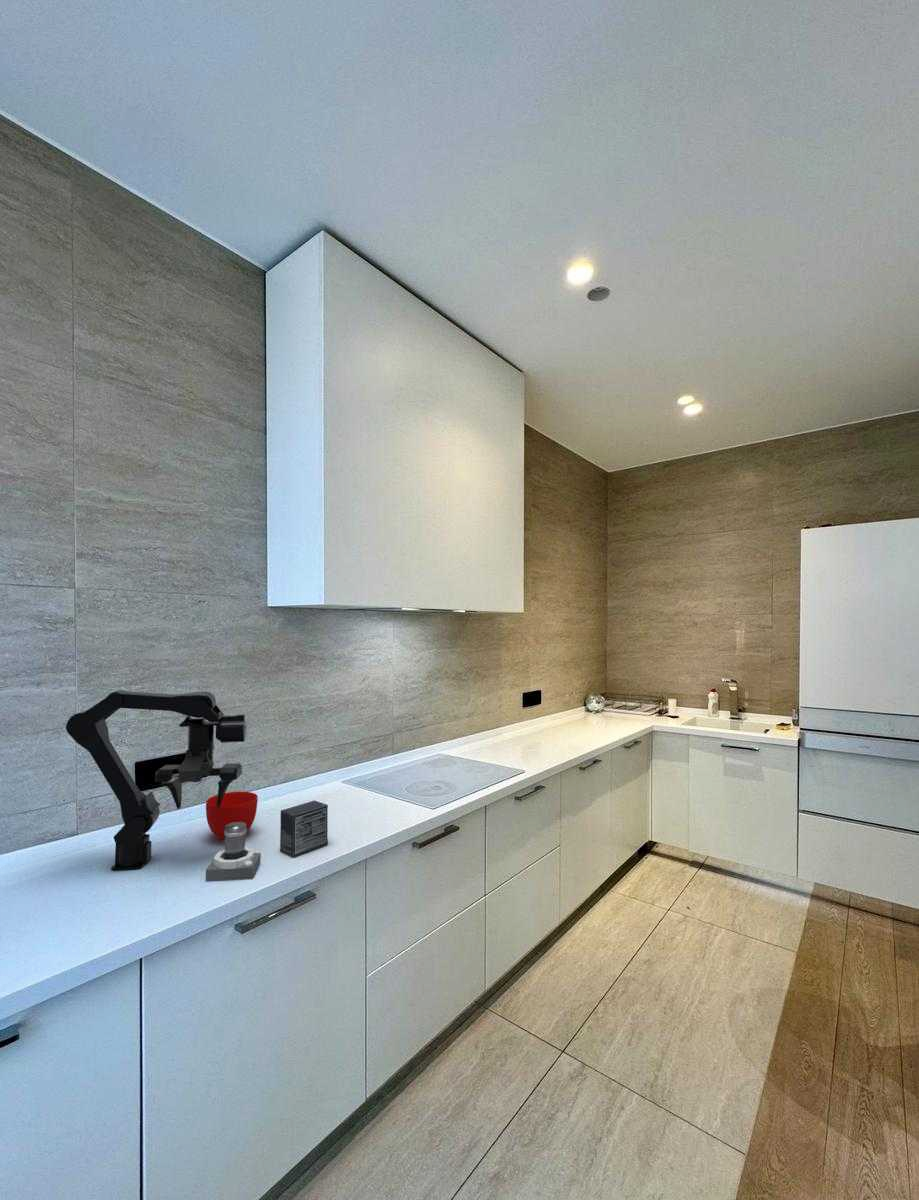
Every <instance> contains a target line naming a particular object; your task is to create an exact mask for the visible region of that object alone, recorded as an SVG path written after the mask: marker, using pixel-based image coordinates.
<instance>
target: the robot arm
mask: <svg viewBox="0 0 919 1200" xmlns="http://www.w3.org/2000/svg"><path fill="white" fill-rule="evenodd" d="M120 709H133V710H147V711H149V710H150V711H166V712H167V711H168V712H173V713H178V714H180V715H183V716H186V717H185V718H184V720H183V721H182V722H180V724H179V727H181V728H184V727H185V728H187V727H188V729H187V731H188V732H187V735H188V736H187V749H186V751H185V752H186V753H185V757H184V760H183V761H182V762H181V764H165V765H163V766H162V767H160V768H159V769H157V771H156V772H155V777H154V779H155V780H154V782H155V783H160V785H161V786H165V787H166V788H168V790H169V791H170V793H171V796H172V798H173V801H174V804H175V807H176V809H177V810H180V809H181V807H182V802H183V801H182V799H183V798H182V796H183V795H182V792H183V790H182V789H183V785H182V784H183V783H188V782H189V783H192V782H193V783H199V782H201V781H202V779H203V777H214V776H215V777H218V778H220V779H219V780H218V781H217V785H218V790H217V791H218V792H217V795H218V797H217V808H219V807H220V805H221V802H222V800H223V797H224V795H225V793H227V789H228V787H229V785H230V784H232V783H233V782H234V781H236V780H238V779H239V778H240V777H241V775H243V766H242V764H241V763H238V762H237V763H231V762H230V763H225V764H224V765H223V766H221V767H214V766H215V761H214V750H215V744H214V737H215V739H216V740H217V741H220V743H221V744H224V743H245V741H246V738H247V737H246V735H247V725H246V714H245V713H240V714H234V715H233V714H232V715H231V714H230V715H225V714H224V713H223V711H222V710H221V709H220V707H219V706H218V705H217V699H216V696H215V695H214V694H213V693H212V692H210V691H203V690H202V691H195V692H186V693H178V694H173V693H172V694H171V693H158V692H143V691H141V692H139V691H128V690H124V689H119V690H116V691H113V692H111V693H109V694H108V695H107V696H105V698H104V699H102V700H101V701H99V702H98V703H96V704H94V705H93V706H92V707H90V708H89V709H86V710H83V711H80V712H78V713H76V714H73V715H71V716H70V717H69V718H68V720H67V723H66V725H65V730H66V733H67V734H68V736H70V737H71V738H72V739H73V741H74V742H76V744H77V745H79V746H80V747H82V748H84V750H86V751H87V752H89V754H90V755H91V757H92V759H93V760H94V762H95V763H96V766H97V767H98V769H99V770H100V773H101V774H102V775H103V777H104V779H105V780H106V782H107V784H108V785H109V787H110V789H111V790H112V792H113V793H114V795H115V797H116V799H117V800H118V802H119V805H120V812H121V813H120V815H121V819H122V821H123V823H124V825H123V826H122V827H121V828H120V829H119V830H118V831H117V832H116V834H114V835H113V840H114V843H115V853H114V865H113V866H111V867H110V868H111V871H118V870H119V871H121V870H123V871H124V870H139V869H142V868H143V866H145V865H146V864H147V863H148V862H149V861H150V860H151V858H153V856H152V842H153V841H152V840H150V837H151V836H150V835H151V834H149V833H148V832H149V831H150V830H151V829H152V827H153V826H154V825H155V823H156V822H157V820H159V817H160V814H161V811H160V806H161V803H159V802H158V801H157V800H156V797H155V795H154V792H152V791H150V792H148V793H147V794H146V793H144V792H143V791H141V790H140V789H139V787H138V785H137V784H136V782H135V780H134V778H133V777H132V776H131V774H130V772H129V770H128V769H127V768H126V766H125V764H124V762H123V761H122V759H121V757H120V755H119V753H118V752H117V750H116V749H115V747H114V745H113V744H112V742H111V740H110V735H109V728H108V724H107V721H106V720H107V719H108V718H109V717H111V716H112V715H113V714H115V713H116V712H117V711H118V710H120ZM214 734H215V736H214Z"/></svg>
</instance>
